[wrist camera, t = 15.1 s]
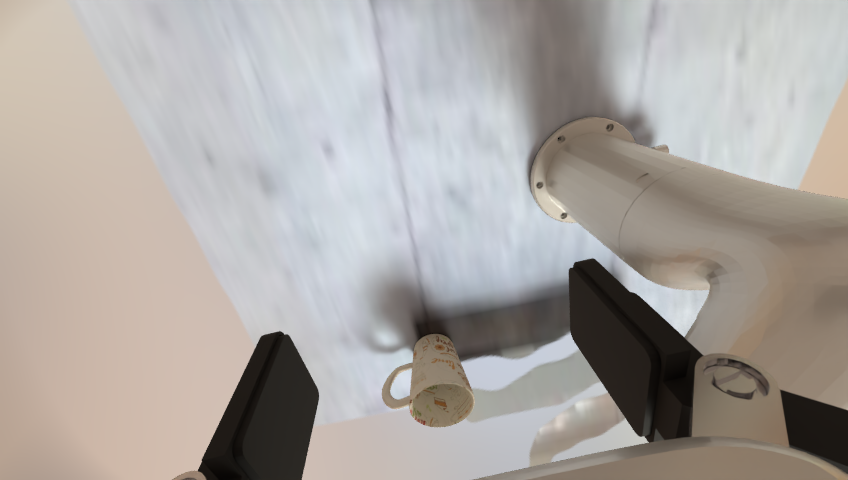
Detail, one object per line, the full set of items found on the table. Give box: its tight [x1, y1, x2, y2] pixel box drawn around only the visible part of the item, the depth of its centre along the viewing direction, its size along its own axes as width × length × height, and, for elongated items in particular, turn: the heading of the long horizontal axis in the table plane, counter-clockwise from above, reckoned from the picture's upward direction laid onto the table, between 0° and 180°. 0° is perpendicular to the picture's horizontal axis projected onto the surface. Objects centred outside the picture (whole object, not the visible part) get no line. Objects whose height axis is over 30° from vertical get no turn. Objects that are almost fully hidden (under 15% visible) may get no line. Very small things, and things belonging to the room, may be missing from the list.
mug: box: [382, 334, 475, 427], centre depth 48 cm, size 8×13×10 cm, turn 113°
